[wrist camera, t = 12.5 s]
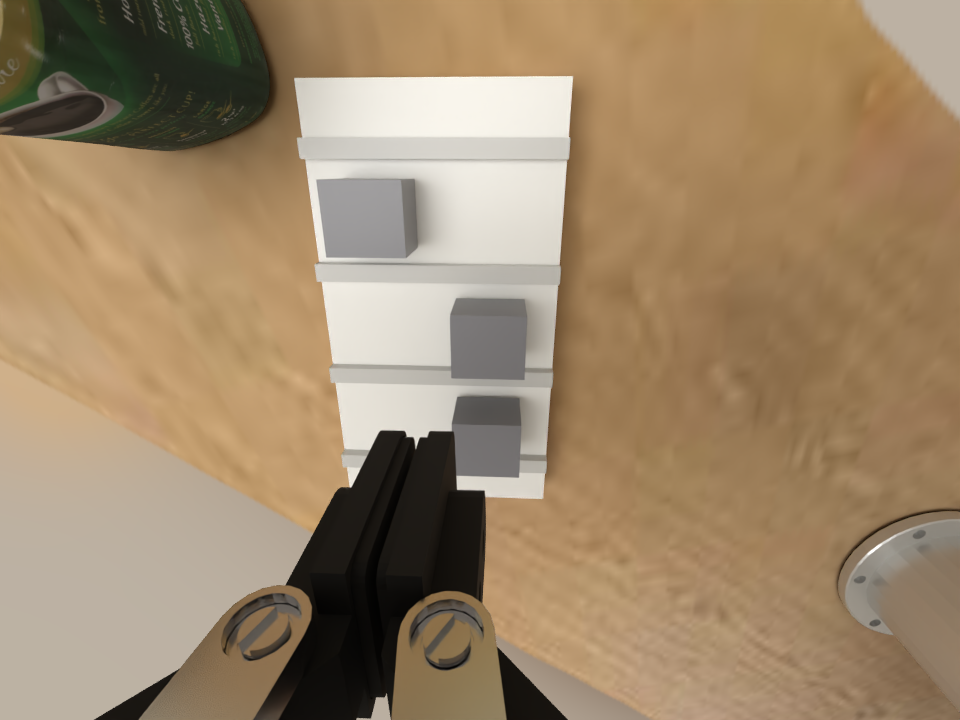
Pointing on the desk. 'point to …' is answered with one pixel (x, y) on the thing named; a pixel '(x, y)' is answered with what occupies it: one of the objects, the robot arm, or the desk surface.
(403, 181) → the tab
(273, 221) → the desk surface
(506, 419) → the tab
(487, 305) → the tab
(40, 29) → the coffee jar
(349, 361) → the switch board
